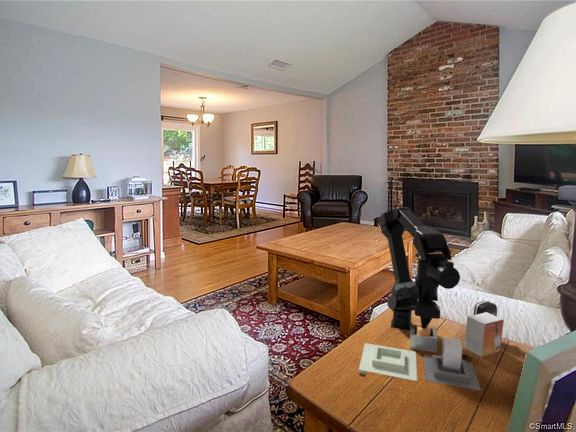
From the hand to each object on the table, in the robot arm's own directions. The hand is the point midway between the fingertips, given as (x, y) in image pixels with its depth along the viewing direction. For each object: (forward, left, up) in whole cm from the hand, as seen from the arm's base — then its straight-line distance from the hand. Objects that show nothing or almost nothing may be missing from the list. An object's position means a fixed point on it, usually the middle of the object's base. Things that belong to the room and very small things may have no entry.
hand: (423, 328), depth 101 cm
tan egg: (0, 0, -5) cm, 5 cm away
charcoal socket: (+12, +6, -6) cm, 15 cm away
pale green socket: (+12, -9, -6) cm, 16 cm away
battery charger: (-12, +18, -6) cm, 23 cm away
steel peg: (+12, +6, -5) cm, 14 cm away
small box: (-3, +16, -6) cm, 18 cm away
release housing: (0, 0, -6) cm, 6 cm away
